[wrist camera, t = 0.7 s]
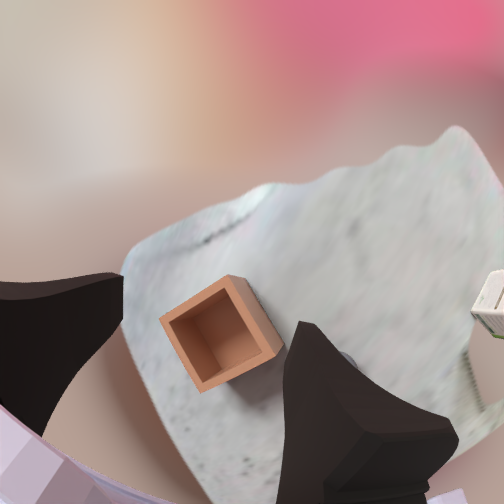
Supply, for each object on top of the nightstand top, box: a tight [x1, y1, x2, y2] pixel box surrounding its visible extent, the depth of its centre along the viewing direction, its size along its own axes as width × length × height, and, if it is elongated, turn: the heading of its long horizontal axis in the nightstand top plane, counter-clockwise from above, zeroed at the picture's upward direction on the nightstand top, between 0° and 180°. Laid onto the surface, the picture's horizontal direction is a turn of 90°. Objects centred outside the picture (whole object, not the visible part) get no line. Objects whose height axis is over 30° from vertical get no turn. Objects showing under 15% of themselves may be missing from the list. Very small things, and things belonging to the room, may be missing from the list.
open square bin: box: [159, 274, 284, 393], centre depth 26 cm, size 8×8×6 cm
